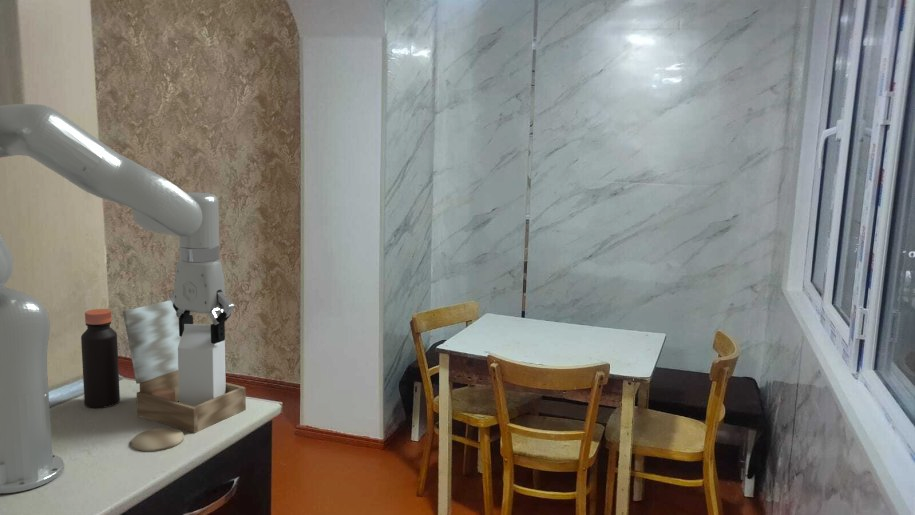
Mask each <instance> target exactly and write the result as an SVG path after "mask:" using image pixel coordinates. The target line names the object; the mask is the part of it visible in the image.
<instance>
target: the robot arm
mask: <svg viewBox="0 0 915 515" xmlns="http://www.w3.org/2000/svg"><path fill="white" fill-rule="evenodd" d="M15 156H26V157H29V158H31V159H33V160H35V161H36V162H38V163H40V164H41V165H42V166H45V167H46V168H48V169H49V170H51V171H53V172H54V173H56V174H57V175H59V176H61V177H62V178H64V179H66V180H67V181H69V182H70V183H72V184H73V185H74V186H76V187H78V188H79V189H80V190H83V191H85V192H86V193H88V194H91V195H93V196H95V197H97V198H100V199H102V200H107V201H110V202H114V203H116V204H120V205H123V206H124V207H125V206H126V207H128V208H131V209H132V217H133V219H134V221H135V222H136V224H137V225H138V226H139V227H140V228H142V229H144V230H145V231H148V232H152V233H158V234H165V235H169V236H170V235H171V236H175V237H178V242H179V246H178V252H179V259H178V260H177V261H176V265H175V272H174V284H173V292H171V293H170V294H169V296H168V297H169V300H171V302H172V304H173V308H174V309H175V311H176V316H177V317H179V336H181V337H182V334H183V331H184V324H194V316H193V314H192V312H194V313H197V314H198V313H199V314H203V315H205V314H208V315H209V318H210V319H211V320H210V321H211V322H212V323H211V324H210V325H211V343H213V344H216V343H219V342H222V341H224V340H225V341H226V327H225V326H226V325H225V323H227V321H228V319H229V318H230V317H231V314H232V313H233V311H234V308H235V304H234V303H233V302H232V301H231V300H230V299H229V298H228V297H227V296H226V283H225V277H224V276H225V275H224V270H223V266H222V265H223V264H222V262H221V260H220V259H221V257H220V255H221V254H220V252H221V251H220V217H219V216H220V215H219V198H218V197H217V195H215V194H213V193H210V192H186V191H184V190H183V189H181V188H180V187H179V186H177V185H176V184H174V183H173V182H172V181H170V180H168V179H166V178H165V177H164V176H162V175H160V174H157V173H156V172H154V171H152V170H150V169H149V168H146V167H144V166H142V165H141V164H139V163H137V162H136V161H134V160H132V159H130V158H128V157H126V156H124V155H122V154H120V153H118V152H117V151H115V150H114V149H113V148H111V147H109V146H108V145H106V144H105V143H104V142H102V141H101V140H99V139H98V138H96V137H95V136H93V135H92V134H91V133H89V132H88V131H87V130H85V129H84V128H82V127H81V126H80V125H78V124H77V123H75V122H74V121H73V120H71V119H70V118H68V117H67V116H65V114H62V113H61V112H59V111H58V110H56V109H54V108H53V107H50V106H47V105H44V104H43V105H42V104H37V103H34V104H31V103H30V104H29V103H13V104H4V105H0V159H1V158H8V157H15ZM13 271H14V259H13V256H12V253H11V250H10V248H9V247H8V245H7V243H6V242H5V240H4V238H3V235H2V234H1V233H0V494H13V493H19V492H25V491H28V490H32V489H36V488H38V487H41V486H43V485H46V484H48V483H50V482H52V481H53V480H55V479H56V478H58V477H59V476H60V475H61V474H62V473H63V471H64V469H65V463H64V460H63V458H62V457H60V456H58V455H57V454H53V444H52V441H53V440H52V427H51V426H52V424H51V410H50V396H49V395H50V394H49V392H50V391H49V380H48V363H47V362H48V345H49V340H50V332H51V331H50V328H51V322H50V317H49V316H50V315H49V314H48V312H47V309H46V308H45V306H44V305H43V304H42V303H41V302H40V301H39V300H38V299H36V298H35V297H33V296H32V295H30V294H28V293H25V292H22V291H20V290H16V289H13V288H10V287H7V285H6V283H7V282H8V281H9V280H10V278H11V276H12V275H13ZM216 313H217V314H216ZM217 315H218V316H217Z"/></svg>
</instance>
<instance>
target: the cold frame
mask: <svg viewBox="0 0 915 515" xmlns="http://www.w3.org/2000/svg"><path fill="white" fill-rule="evenodd" d="M122 314H123V319H124V324H125V331H126V335H127V340H128V345H129V351H130V352H129V353H130V358H131V362H132V368H133V374H134V379H135V384H137V385H138V384H139V391H137V392H136V412H137V413H136V416H137V417H139V418H142V419H146V420H149V421H153V422H156V423H159V424H163V425H167V426H170V427H172V428H175V429H178V430H179V429H180V430H182V431H186V432H189V433H193V434H195V433H197V432H200V431H202V430H204V429H206V428H209V427H211V426H213V425H216V424H217V423H220V422H222V421H224V420H227V419H228V418H230V417H233V416H235V415H237V414H239V413H241V412H244V411H246V409H247V407H246V406H247V404H246V402H247V401H246V400H247V399H246V398H247V397H246V394H247V393H246V391H247V390H246V387H245V386H242V385H238V384H234V383H230V382H226V394H223V395H221V396H218V397H216V398H214V399H211V400H209V401H206V402H204V403H202V404H199V405H197V406H190V405H186V404H183V403H179V402H178V401H179V375H178V346H179V343H180V340H181V336H179V317H177V316H176V311H175V309H174V308H173V304H172V302H171V299H169V300H165V301H161V302H157V303H153V304H149V305H144V306H140V307H135V308H131V309H127V310H123V311H122ZM165 387H168V388H173V389H175V401H172V400H169V399H165V398H161V397H158V396H154V395H152V391H153V390H155V389H158V388H165Z"/></svg>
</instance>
